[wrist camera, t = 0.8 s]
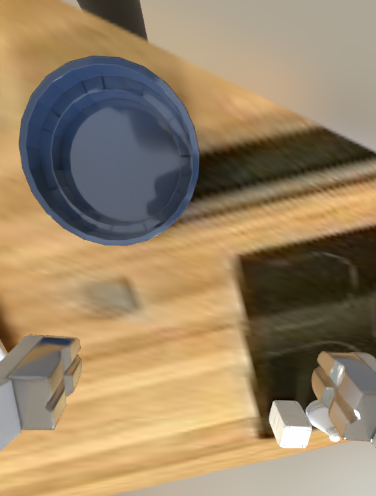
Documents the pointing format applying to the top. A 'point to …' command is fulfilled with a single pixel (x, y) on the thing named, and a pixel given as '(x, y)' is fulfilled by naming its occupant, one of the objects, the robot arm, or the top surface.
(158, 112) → the bowl
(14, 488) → the top surface
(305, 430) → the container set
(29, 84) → the top surface
